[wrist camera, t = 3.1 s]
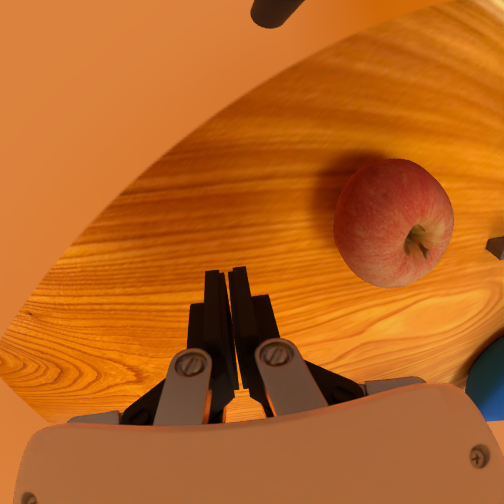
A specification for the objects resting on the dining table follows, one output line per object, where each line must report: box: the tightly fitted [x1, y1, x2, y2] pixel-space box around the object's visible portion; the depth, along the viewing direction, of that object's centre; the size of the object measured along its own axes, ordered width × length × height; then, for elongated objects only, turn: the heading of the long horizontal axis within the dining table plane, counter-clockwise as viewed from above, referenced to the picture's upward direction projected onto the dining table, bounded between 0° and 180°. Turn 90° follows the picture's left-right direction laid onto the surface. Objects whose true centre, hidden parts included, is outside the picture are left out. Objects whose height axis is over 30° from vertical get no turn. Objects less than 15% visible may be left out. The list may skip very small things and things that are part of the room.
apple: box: [333, 159, 454, 288], centre depth 16 cm, size 8×8×8 cm
